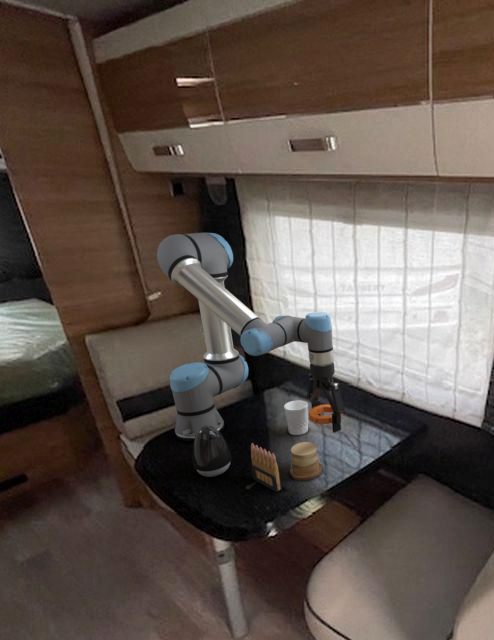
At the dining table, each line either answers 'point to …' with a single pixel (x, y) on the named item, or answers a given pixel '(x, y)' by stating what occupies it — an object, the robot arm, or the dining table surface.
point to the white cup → (297, 417)
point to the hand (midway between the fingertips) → (326, 425)
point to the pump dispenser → (210, 452)
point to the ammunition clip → (265, 468)
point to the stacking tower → (305, 461)
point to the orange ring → (318, 410)
